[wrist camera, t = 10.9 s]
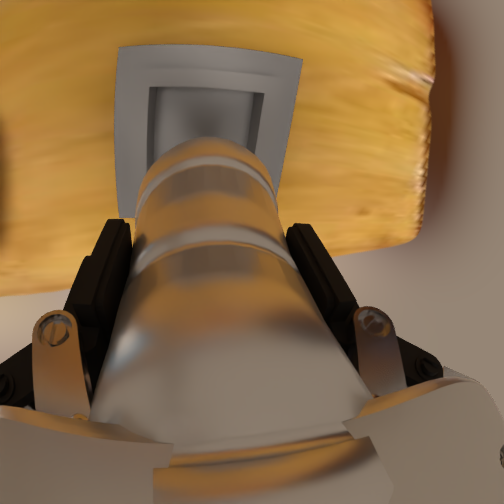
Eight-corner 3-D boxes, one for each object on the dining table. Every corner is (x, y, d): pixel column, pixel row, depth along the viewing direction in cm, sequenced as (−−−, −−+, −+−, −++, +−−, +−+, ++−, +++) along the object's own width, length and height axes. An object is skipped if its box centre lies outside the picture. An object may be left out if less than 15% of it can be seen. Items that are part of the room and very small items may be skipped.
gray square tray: (121, 48, 18) (105, 43, 14) (299, 59, 22) (319, 58, 18) (121, 213, 28) (110, 238, 24) (269, 216, 32) (280, 240, 28)
